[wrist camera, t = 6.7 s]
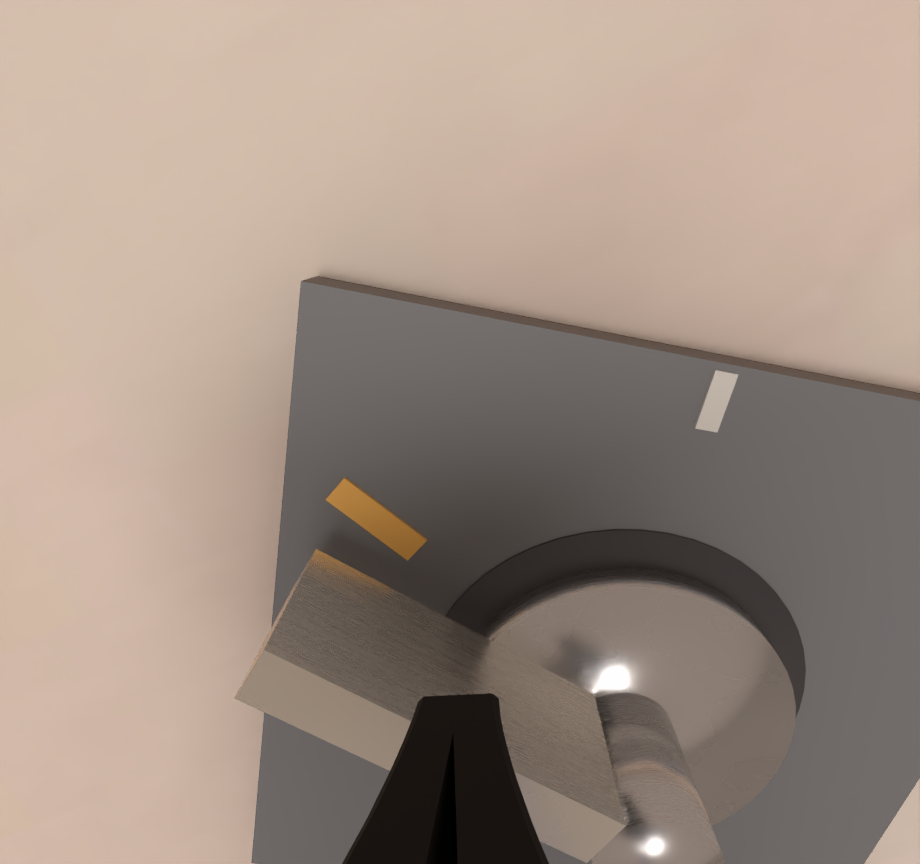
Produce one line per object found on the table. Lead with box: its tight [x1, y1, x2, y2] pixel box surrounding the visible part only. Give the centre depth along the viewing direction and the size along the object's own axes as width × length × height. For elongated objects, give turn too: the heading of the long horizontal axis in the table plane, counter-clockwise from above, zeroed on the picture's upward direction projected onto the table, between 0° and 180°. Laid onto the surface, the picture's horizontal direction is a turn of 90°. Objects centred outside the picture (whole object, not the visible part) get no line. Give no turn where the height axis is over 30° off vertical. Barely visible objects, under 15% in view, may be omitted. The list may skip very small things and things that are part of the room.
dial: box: [235, 549, 796, 864], centre depth 15 cm, size 16×10×5 cm, turn 59°
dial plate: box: [252, 276, 920, 864], centre depth 19 cm, size 22×22×2 cm
